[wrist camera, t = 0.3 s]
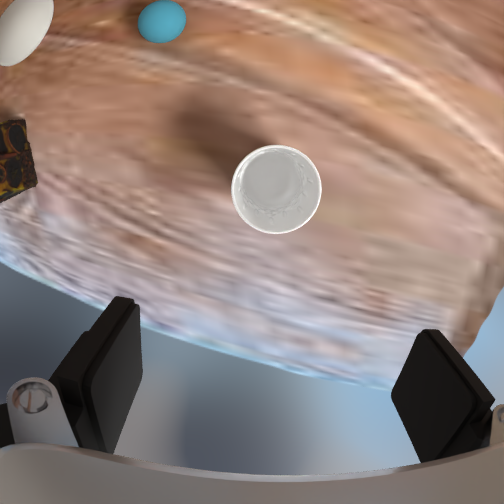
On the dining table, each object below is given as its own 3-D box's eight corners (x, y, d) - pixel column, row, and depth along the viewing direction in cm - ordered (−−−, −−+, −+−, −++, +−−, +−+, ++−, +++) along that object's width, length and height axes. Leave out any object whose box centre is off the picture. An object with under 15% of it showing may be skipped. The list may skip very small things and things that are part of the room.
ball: (154, 8, 30) (141, -9, 24) (195, 12, 30) (187, -5, 25) (140, 45, 31) (124, 33, 26) (181, 51, 32) (171, 38, 27)
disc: (9, -5, 26) (8, -6, 25) (66, -14, 27) (65, -15, 27) (-17, 67, 30) (-18, 67, 29) (36, 66, 31) (35, 65, 31)
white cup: (234, 208, 38) (228, 231, 29) (238, 142, 36) (233, 141, 26) (300, 212, 38) (316, 236, 29) (306, 147, 36) (325, 149, 26)
